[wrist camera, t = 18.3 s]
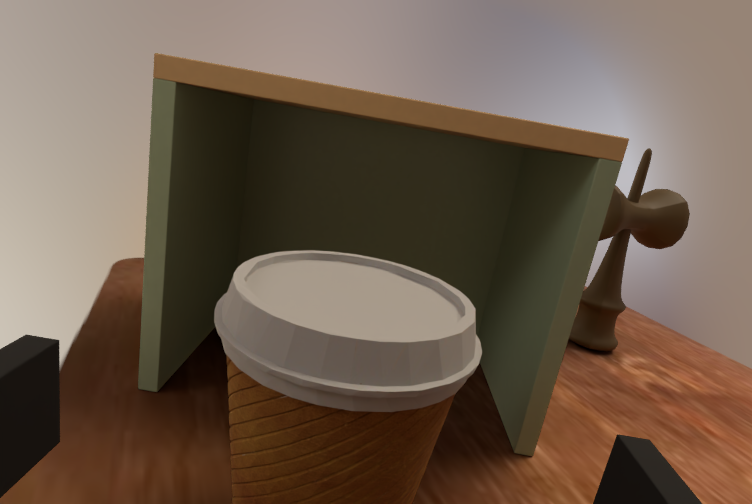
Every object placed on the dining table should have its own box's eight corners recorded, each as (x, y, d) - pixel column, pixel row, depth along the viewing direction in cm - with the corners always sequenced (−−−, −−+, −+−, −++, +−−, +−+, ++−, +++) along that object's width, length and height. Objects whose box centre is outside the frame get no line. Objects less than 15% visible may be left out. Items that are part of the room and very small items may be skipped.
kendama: (645, 356, 48) (714, 159, 43) (574, 359, 44) (641, 143, 39) (598, 330, 53) (655, 152, 48) (532, 330, 49) (586, 137, 44)
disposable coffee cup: (466, 635, 18) (551, 346, 15) (193, 723, 14) (232, 355, 11) (373, 460, 26) (415, 253, 23) (188, 484, 22) (209, 240, 19)
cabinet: (533, 456, 29) (629, 138, 24) (137, 389, 28) (153, 52, 24) (485, 346, 43) (538, 135, 39) (224, 300, 43) (245, 82, 38)
